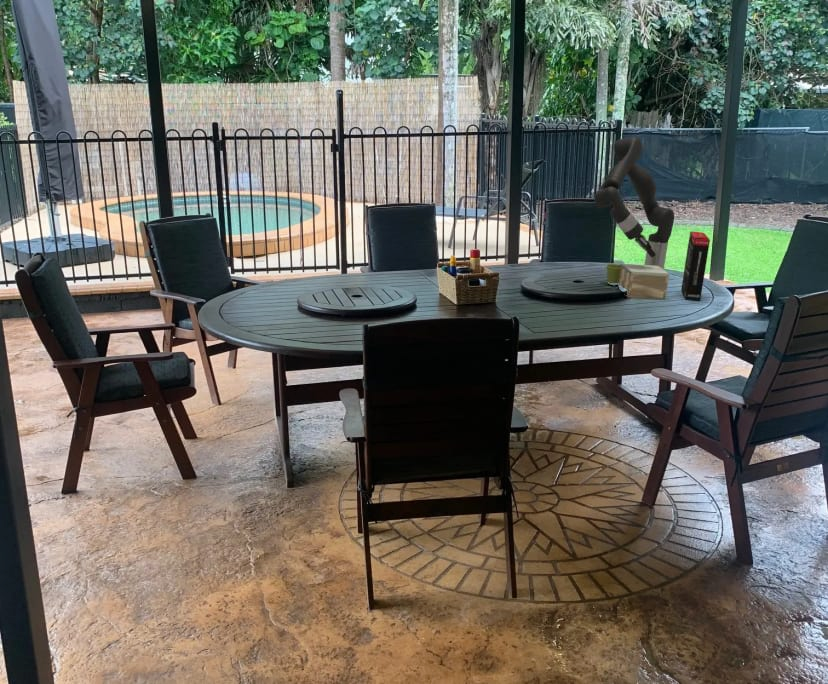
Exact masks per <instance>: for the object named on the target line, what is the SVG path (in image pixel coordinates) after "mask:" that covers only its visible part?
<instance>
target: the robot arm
mask: <svg viewBox="0 0 828 684" xmlns="http://www.w3.org/2000/svg"><path fill="white" fill-rule="evenodd" d="M613 151H614V155H615V156H616V159H617V160H618V162H617V163H616V164H615V165H614V166H613V167H612V168H611V169H610V171H609V172H608V174H607V176H606V178H605V181H604V182H603V184H602V185H601V186H600V187H599V188H598V189H597V191H596V193H595V194H594V203H595V205H596V206H597V207H598V208H606V207H608V206H611V205H612V206H613V208H611V210H610V211H609V214H610V217H611V218H612V220H613V221H614V223H616V225H617V226H618V228H619V230H621V232H622V233H623V234H624V235H625V236H626V238H627V239H628V240H630V241H631V240H634V242H635V243H636V244H637V245H638V246H639V247H640V248H642V249H643V250H644V251H645V259H644V264H643V265H652V266H659V267H660V268H662V269H664V270H665V264H666V258H667V253H668V252H667V251H668V245H669V240H670V238H671V236H672V231H673V227H674V222H675V213H674V211H673V210H672V209H671V208H667V207H663V206H662V207H661V206H660V205H659V204H658V203H657V200H656V198H655V195H656V192H657V185H656V184H657V183H656V182H655V180H654V177H653V176H652V174H651V173H650V171H648V170H647V169H646V168H645V167H643V166H641V165H640V164H638V163H637V160H638V159H639V158H640V156H641V154H642V152H643V143H642V139H641V138H640V137H638V136H630V137H624V138H619V139H617V140H616V141H615V142H614V144H613ZM627 176H628V178H629V180H630V183H631V185H632V187H633V189H634V191H635V193H636V194H637V196H638V199H639V200H640V203H641V205H642V207H643V210H644V213H645V216H646V219H647V221H648V223H649V224H650V225H651V226H653V227H657V230H656V232H653V233H650V234H649V235H648V238H647V237H646V236H645V234H642V233H643V231H644V227H643V226H642V225H641V223H640V222H639V221H638V220H637V219H636V217H635V216H634V215H633V214H632V213H631V212H630V211H629V209H628V208H627V207H626V206H625V203H624V200H623V198H622V195H621V194H620V192H619V191H620V188H621V187H622V184H623V183H624V181H625V178H626V177H627ZM647 239H648V240H647Z"/></svg>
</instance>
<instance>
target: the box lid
mask: <svg viewBox="0 0 828 684" xmlns="http://www.w3.org/2000/svg"><path fill="white" fill-rule="evenodd" d="M619 265H620V266H621V267H622V268H623V269H625V270H626V271H627V272H629V273H630V274H638V275H655V276H669V277H670V273H669V272H667V271H666V270H665V268H664V269H662V268H660V267H659V266H652V265H644V264H636V263H635V264H631V263H629V264H628V263H619Z"/></svg>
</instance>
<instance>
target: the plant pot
mask: <svg viewBox="0 0 828 684" xmlns="http://www.w3.org/2000/svg"><path fill="white" fill-rule="evenodd" d="M605 267H606V276H607V278H606V279H607V280H606V281H607V282H610V283H619V278H620V271H621V266H620V264H617V263H615V264H614V263H609V264H608V263H607V264H606V265H605ZM607 282H606V283H607Z"/></svg>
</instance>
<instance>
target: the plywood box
mask: <svg viewBox="0 0 828 684" xmlns="http://www.w3.org/2000/svg"><path fill="white" fill-rule="evenodd" d="M669 277H670V275H669V276H655V275H638V274H630V273H629V272H627V271H626V270H625V269H623V268H622V267H621V271H620V278H619V285H621V286H622V287H623V288H625V289H626V290H627V295H625V296H626V297H627V298H629V299H630V298H632V299H633V298H634V299H635V298H636V299H649V300H650V299H652V300H666V297H667V296H666V294H667V289H668V283H669Z"/></svg>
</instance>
